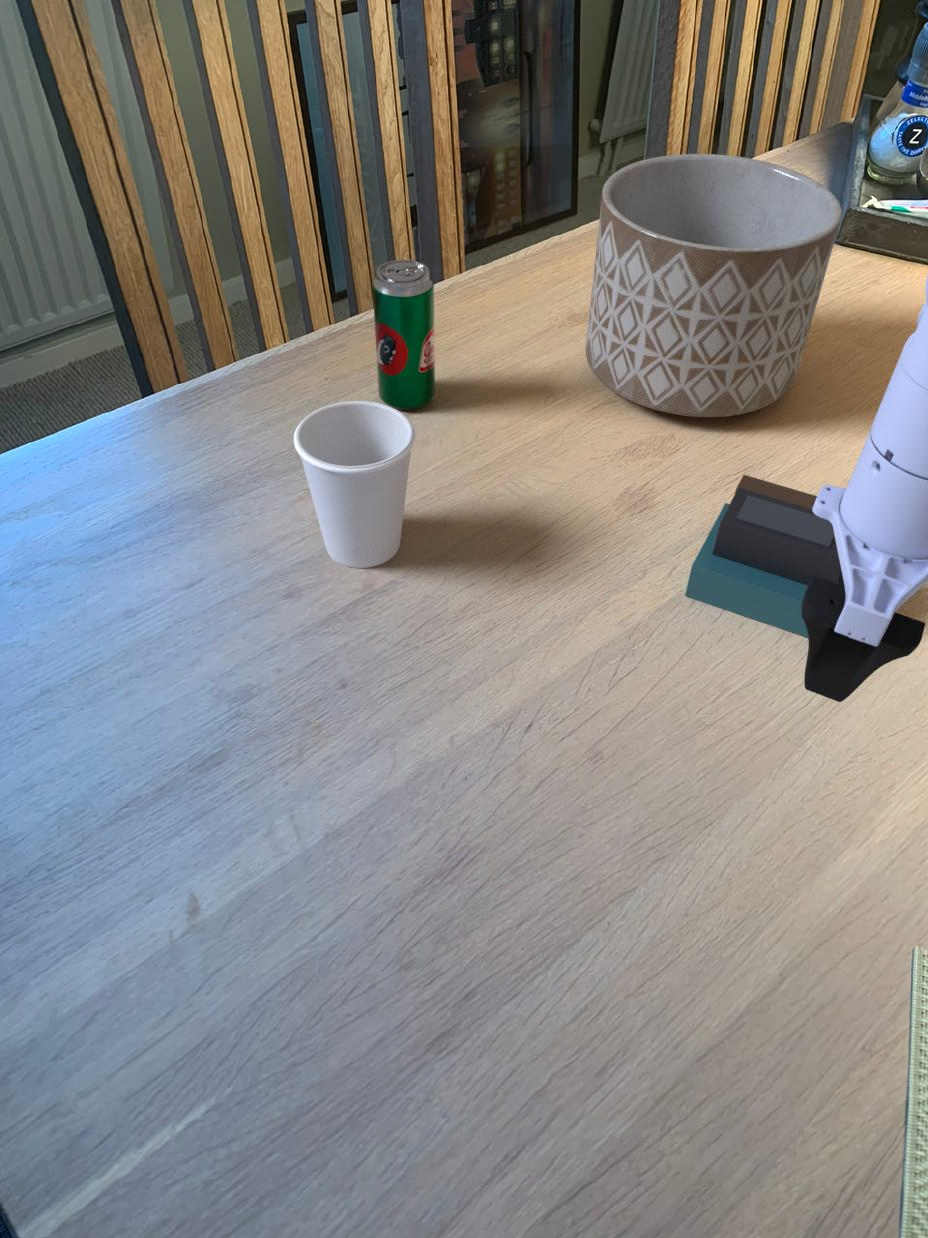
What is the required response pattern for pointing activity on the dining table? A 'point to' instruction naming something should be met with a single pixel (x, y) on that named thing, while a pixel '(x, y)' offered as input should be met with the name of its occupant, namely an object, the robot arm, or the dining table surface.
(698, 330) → the planter
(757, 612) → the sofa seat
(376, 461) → the dixie cup
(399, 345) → the soda can
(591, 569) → the dining table surface
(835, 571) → the remote
